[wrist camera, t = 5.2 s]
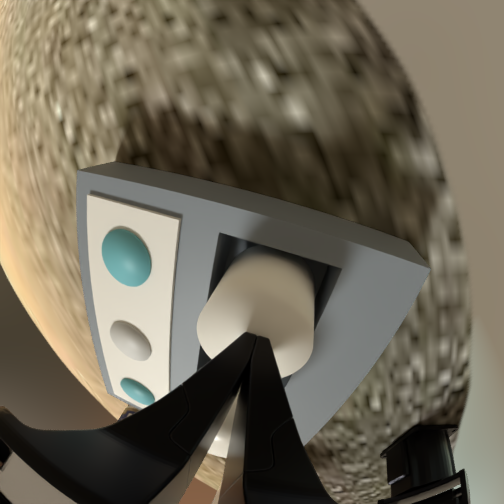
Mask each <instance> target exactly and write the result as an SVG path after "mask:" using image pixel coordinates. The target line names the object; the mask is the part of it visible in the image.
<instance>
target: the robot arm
mask: <svg viewBox="0 0 504 504" xmlns="http://www.w3.org/2000/svg"><path fill="white" fill-rule="evenodd" d="M241 383H242V384H241ZM240 386H241V387H240ZM239 389H240V390H239ZM238 392H239V394H238ZM237 394H238V398H237V404H236V409H235V415H234V420H233V426H232V431H231V437H230V442H229V447H228V453H227V458H226V463H225V469H224V474H223V479H222V484H221V490H220V495H219V500H218V504H338V503H336V502H335V501H334V500H333V499H332V498H331V497H330V496H329V494H328V493H327V492H326V490H325V488H324V487H323V485H322V483H321V481H320V479H319V477H318V475H317V473H316V471H315V469H314V467H313V465H312V463H311V461H310V459H309V457H308V455H307V452H306V450H305V448H304V446H303V443H302V441H301V438H300V435H299V433H298V430H297V427H296V423H295V420H294V418H293V414H292V411H291V408H290V404H289V401H288V398H287V395H286V391H285V388H284V385H283V382H282V378H281V375H280V372H279V369H278V365H277V362H276V359H275V355H274V352H273V349H272V346H271V342H270V339H269V338H266V337H263V336H257V335H256V334H253V333H250V332H244V333H243V334H242V335H240V336H239V337H238V338H237V339H236V340H235V341H233V342H232V343H231V344H230V345H229V346H227V347H226V348H225V349H224V350H223V351H221V352H220V353H219V354H218V355H217V356H215V357H214V358H213V359H212V360H210V361H209V362H208V363H207V364H205V365H204V366H203V367H202V368H200V369H199V370H198V371H197V372H195V373H194V374H193V375H192V376H190V377H189V378H188V379H187V380H185V381H184V382H183V383H182V385H181V384H180V385H179V386H177V387H176V388H175V389H173V390H172V391H171V392H169V393H168V394H166V395H165V396H164V397H162V398H161V399H159V400H157V401H156V402H154V403H152V404H151V405H149V406H147V407H145V408H143V409H141V410H139V411H138V412H136V413H134V414H132V415H130V416H128V417H126V418H124V419H122V420H120V421H118V422H116V423H113V424H111V425H109V426H106V427H102V428H97V429H86V430H40V429H35V428H31V427H29V426H26V425H25V424H23V423H21V422H20V421H19V420H18V419H17V418H16V417H15V416H14V415H13V414H12V413H11V412H10V411H9V410H8V409H7V408H5V406H0V504H178V503H179V501H180V499H181V498H182V496H183V495H184V493H185V491H186V489H187V488H188V486H189V484H190V482H191V481H192V479H193V477H194V476H195V474H196V472H197V470H198V469H199V467H200V465H201V463H202V461H203V460H204V458H205V456H206V454H207V452H208V450H209V449H210V447H211V445H212V443H213V441H214V439H215V437H216V435H217V434H218V432H219V430H220V428H221V426H222V424H223V422H224V420H225V418H226V416H227V414H228V412H229V410H230V408H231V406H232V404H233V402H234V400H235V398H236V396H237ZM457 430H458V426H457V425H449V426H417V427H414V428H413V429H412V430H410V431H409V432H408V433H407V434H406V435H404V436H403V437H402V438H401V439H400V440H398V441H397V442H396V443H394V444H393V445H392V446H391V447H389V448H388V449H387V450H385V451H384V452H382V453H381V454H380V458H386V460H387V480H388V485H391V498H388V499H381V500H378V504H411V503H412V504H470V492H469V484H468V478H467V474H466V472H465V469H462V470H460V471H459V472H458V473H456V470H455V464H454V459H453V454H452V449H451V444H450V439H449V437H450V436H451V435H452V434H453V433H455V432H456V431H457ZM459 484H461V487H460V488H457V489H454V488H453V487H455V486H457V485H459ZM450 488H451V489H450ZM448 489H449V490H448ZM446 490H447V491H446ZM443 491H444V492H443ZM441 492H442V493H441ZM436 494H437V495H436ZM433 495H434V496H433ZM431 496H432V497H431ZM428 497H429V498H428ZM425 498H426V499H425ZM423 499H424V500H423ZM420 500H421V501H420ZM417 501H418V502H417ZM414 502H415V503H414Z"/></svg>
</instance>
